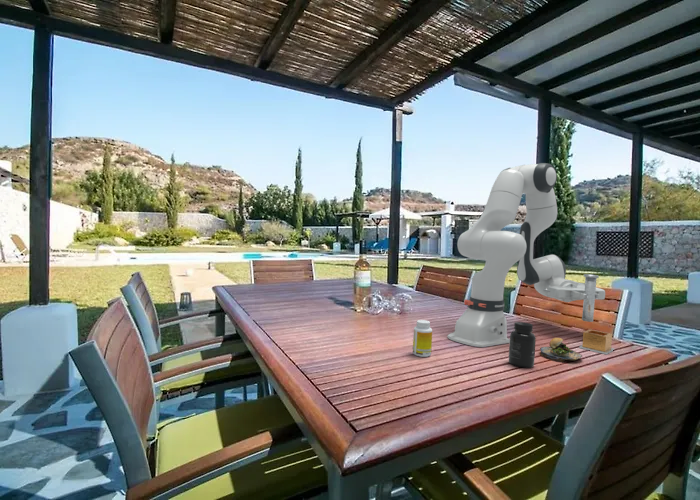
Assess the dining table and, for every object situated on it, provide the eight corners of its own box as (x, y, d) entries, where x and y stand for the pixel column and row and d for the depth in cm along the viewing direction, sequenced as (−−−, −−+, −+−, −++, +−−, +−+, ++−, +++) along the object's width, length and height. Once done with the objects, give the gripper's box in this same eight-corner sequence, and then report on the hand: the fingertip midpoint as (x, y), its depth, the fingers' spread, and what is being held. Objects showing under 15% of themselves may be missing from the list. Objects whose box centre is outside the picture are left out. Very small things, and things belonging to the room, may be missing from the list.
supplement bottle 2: (538, 369, 105) (541, 327, 105) (514, 368, 105) (516, 326, 105) (527, 360, 112) (530, 321, 111) (504, 359, 112) (506, 320, 112)
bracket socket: (606, 354, 121) (607, 337, 121) (579, 348, 127) (580, 331, 127) (614, 350, 127) (615, 334, 126) (587, 344, 133) (588, 328, 132)
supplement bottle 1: (434, 356, 113) (436, 322, 112) (419, 358, 110) (421, 324, 110) (423, 350, 118) (425, 318, 117) (408, 352, 115) (410, 319, 115)
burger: (566, 366, 109) (568, 341, 109) (530, 354, 120) (532, 331, 119) (590, 361, 115) (592, 337, 114) (554, 349, 125) (556, 328, 125)
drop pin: (592, 322, 133) (596, 276, 132) (578, 320, 137) (581, 274, 136) (596, 321, 136) (600, 275, 135) (582, 318, 140) (586, 274, 139)
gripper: (541, 281, 148) (565, 286, 134) (589, 283, 150) (617, 288, 136) (540, 297, 148) (563, 304, 134) (588, 299, 150) (616, 305, 136)
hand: (591, 296), depth 135 cm, fingers closed on drop pin, 3 cm apart
